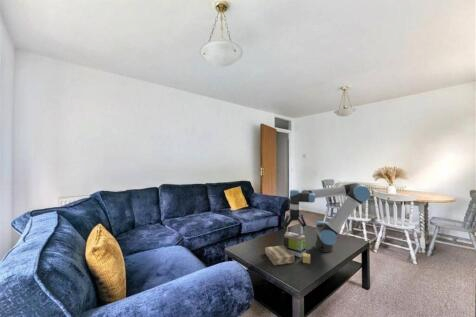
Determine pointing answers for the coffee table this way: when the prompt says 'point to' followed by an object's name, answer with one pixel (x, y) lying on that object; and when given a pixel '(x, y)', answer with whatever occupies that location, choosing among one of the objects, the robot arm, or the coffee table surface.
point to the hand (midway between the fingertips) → (294, 234)
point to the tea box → (295, 243)
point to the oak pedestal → (279, 255)
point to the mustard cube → (306, 258)
